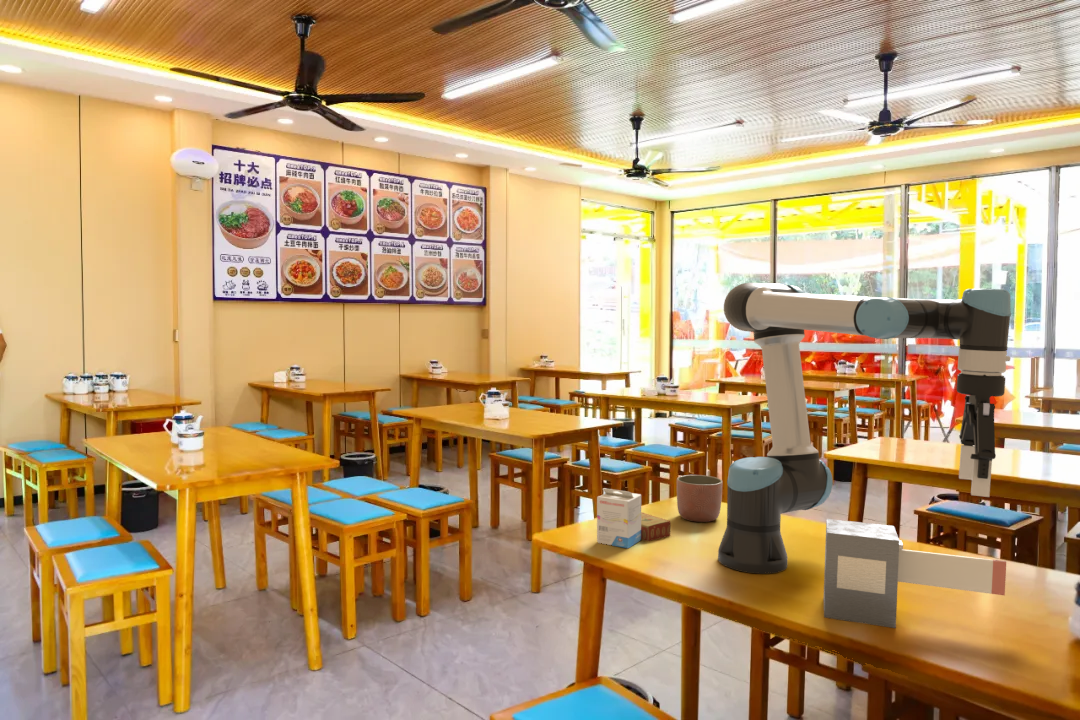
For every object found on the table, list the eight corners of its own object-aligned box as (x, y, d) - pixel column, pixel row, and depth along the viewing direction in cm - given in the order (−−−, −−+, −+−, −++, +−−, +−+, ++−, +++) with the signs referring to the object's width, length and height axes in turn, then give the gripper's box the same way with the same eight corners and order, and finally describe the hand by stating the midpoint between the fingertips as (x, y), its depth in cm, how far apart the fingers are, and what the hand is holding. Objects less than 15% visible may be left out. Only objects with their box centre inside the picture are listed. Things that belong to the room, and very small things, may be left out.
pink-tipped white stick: (891, 580, 132) (892, 549, 132) (891, 579, 133) (892, 548, 132) (1004, 595, 126) (1006, 562, 125) (1003, 594, 126) (1005, 561, 126)
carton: (647, 542, 177) (647, 525, 176) (604, 527, 190) (604, 511, 189) (670, 536, 182) (671, 520, 181) (627, 522, 195) (627, 506, 194)
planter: (676, 523, 193) (677, 483, 192) (675, 511, 205) (676, 473, 204) (723, 526, 191) (724, 485, 190) (719, 513, 203) (720, 475, 202)
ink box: (642, 540, 178) (643, 487, 177) (627, 549, 170) (628, 494, 170) (611, 534, 182) (612, 482, 181) (595, 542, 175) (596, 489, 174)
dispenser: (824, 617, 132) (827, 532, 131) (823, 597, 142) (826, 518, 141) (902, 629, 127) (905, 541, 127) (896, 608, 137) (899, 526, 136)
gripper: (1021, 380, 118) (1012, 506, 119) (991, 369, 140) (983, 475, 142) (969, 377, 120) (960, 500, 122) (948, 367, 143) (941, 470, 145)
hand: (973, 487), depth 132 cm, fingers open, 13 cm apart
